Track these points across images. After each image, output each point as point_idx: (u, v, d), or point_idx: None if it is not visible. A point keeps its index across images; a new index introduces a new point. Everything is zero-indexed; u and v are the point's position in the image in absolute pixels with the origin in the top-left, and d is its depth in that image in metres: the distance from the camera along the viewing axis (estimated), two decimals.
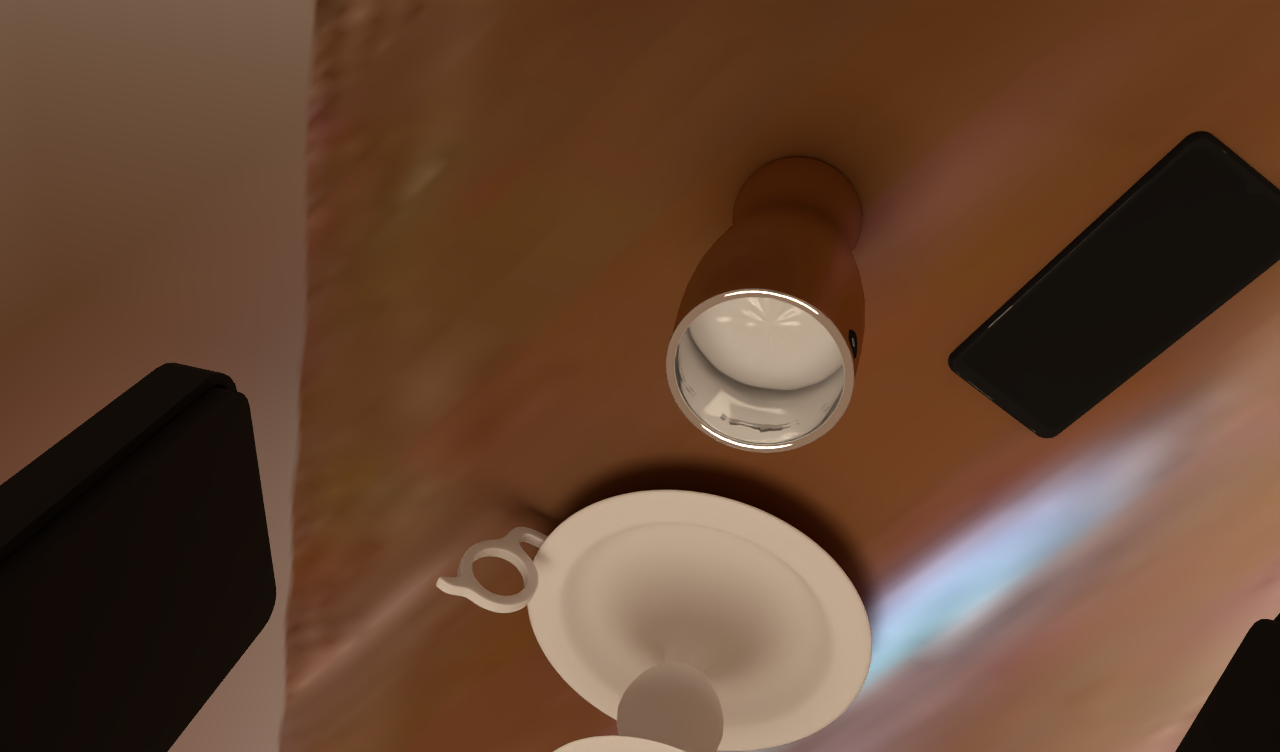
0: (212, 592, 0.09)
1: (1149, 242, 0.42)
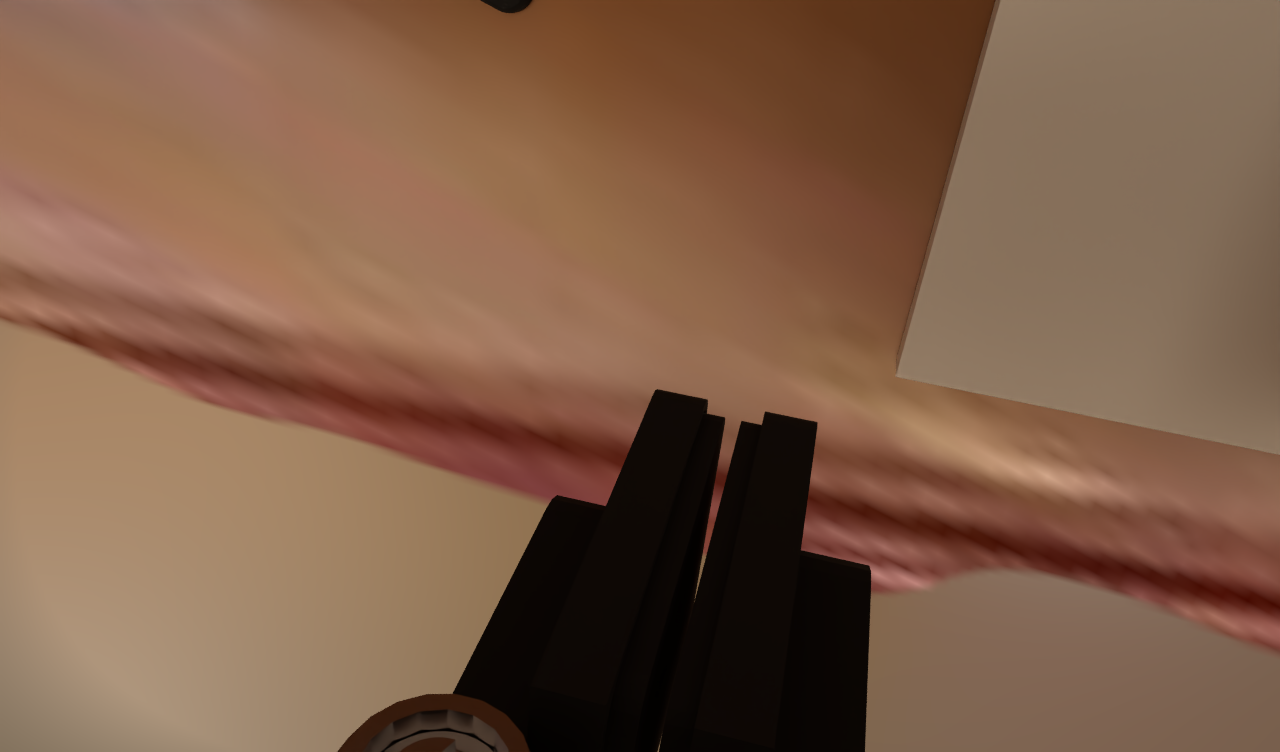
0: (686, 609, 0.09)
1: None
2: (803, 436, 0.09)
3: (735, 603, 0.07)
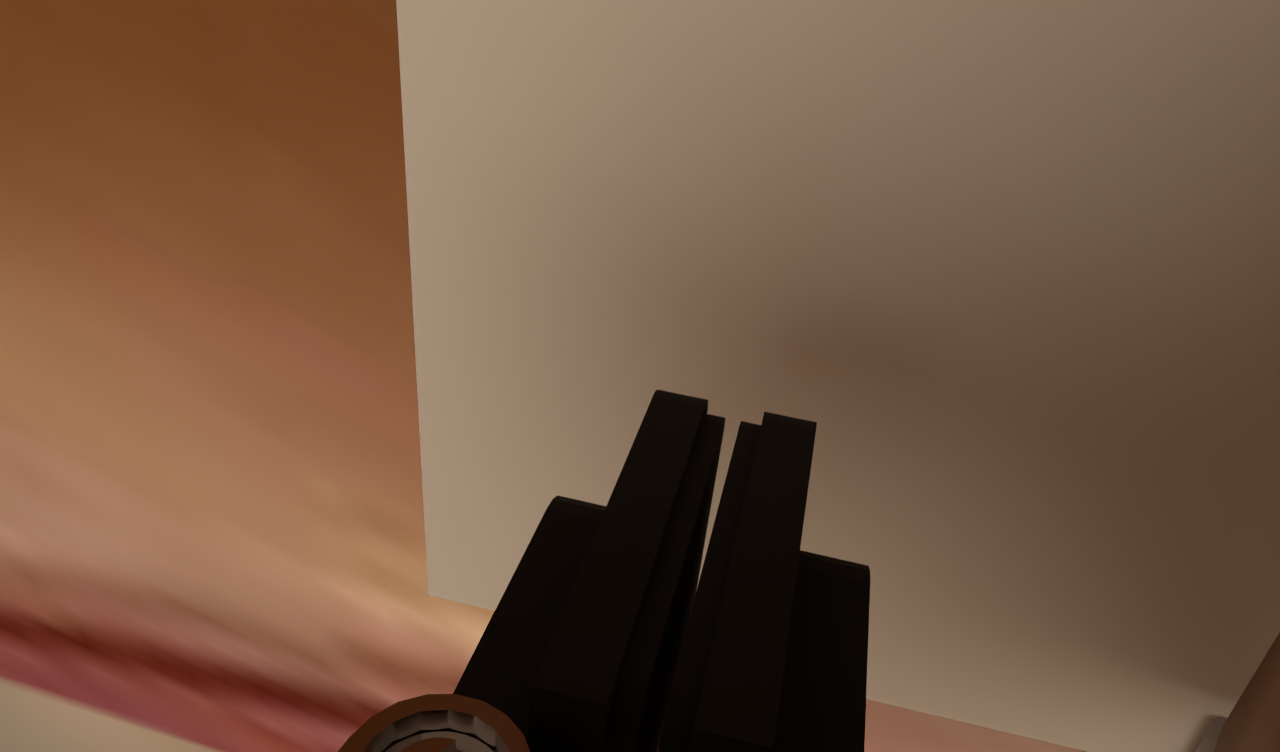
0: (687, 608, 0.09)
1: None
2: (803, 436, 0.09)
3: (735, 603, 0.07)
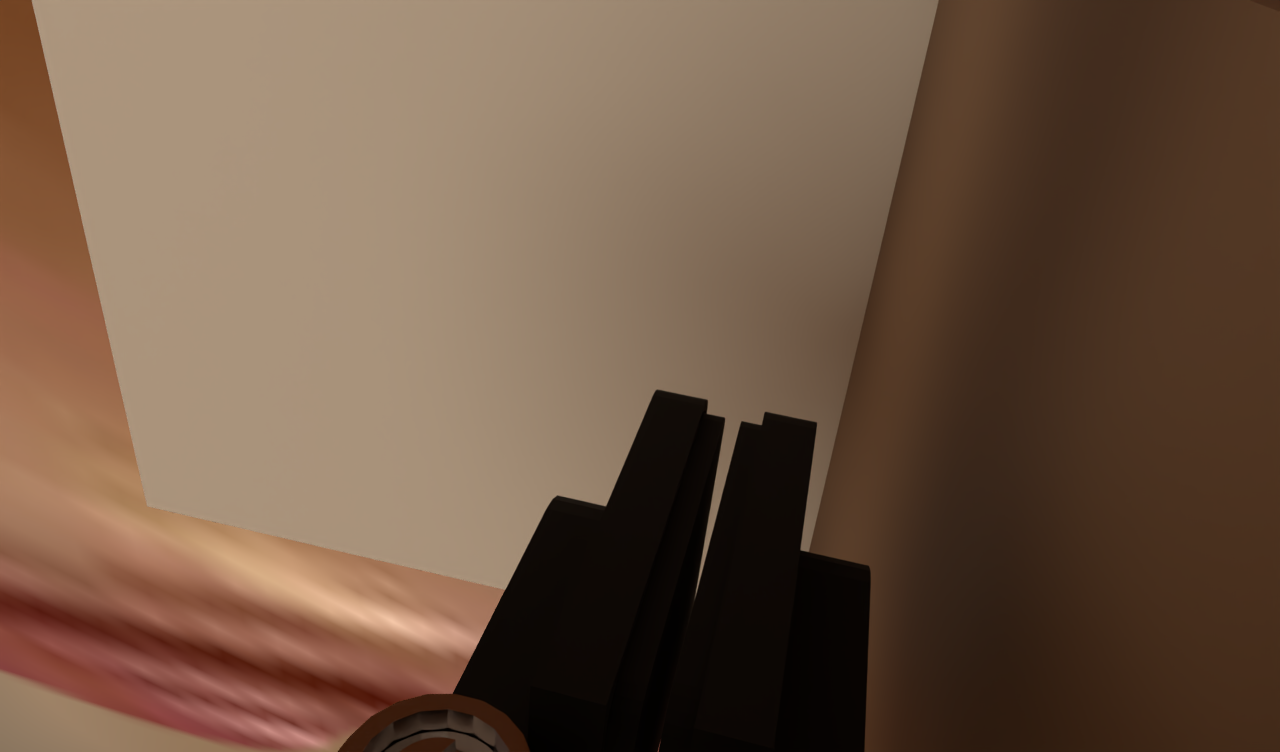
0: (687, 608, 0.09)
1: None
2: (803, 436, 0.09)
3: (735, 603, 0.07)
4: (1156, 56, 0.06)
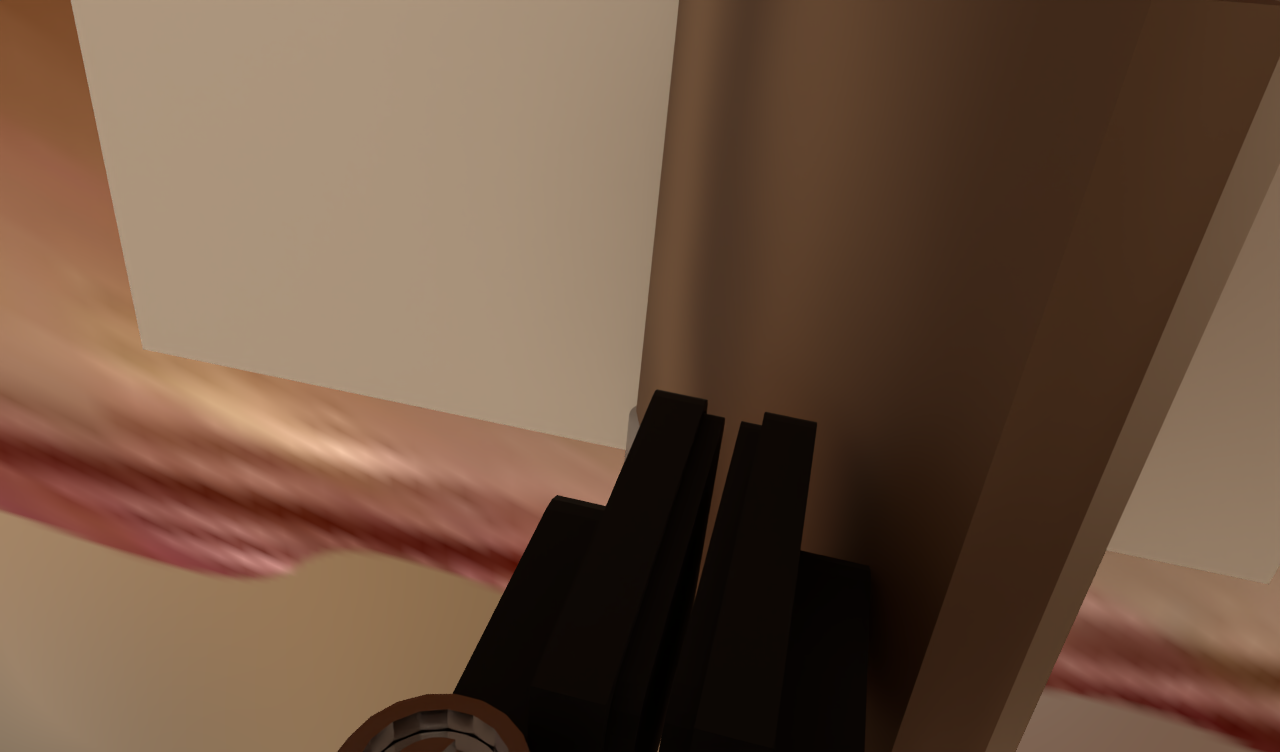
0: (686, 608, 0.09)
1: None
2: (803, 436, 0.09)
3: (735, 603, 0.07)
4: None
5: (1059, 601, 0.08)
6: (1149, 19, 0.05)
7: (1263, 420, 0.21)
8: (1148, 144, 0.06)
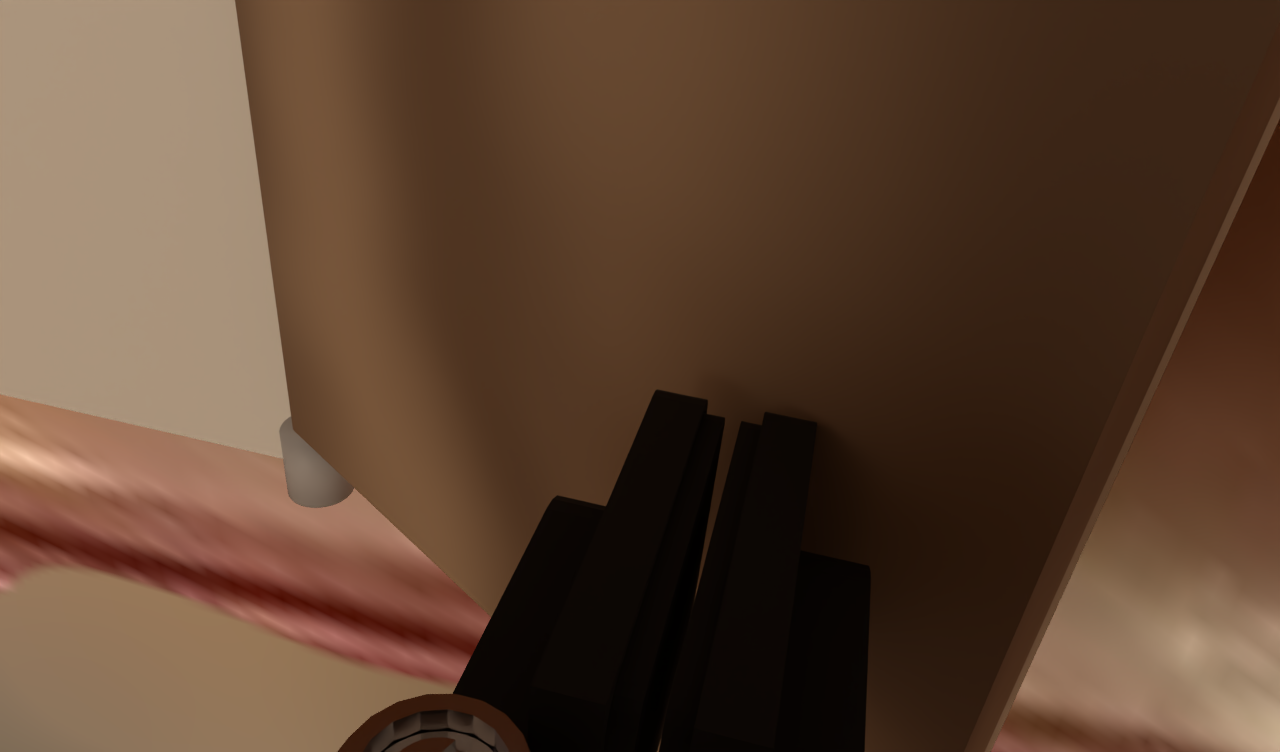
0: (687, 608, 0.09)
1: None
2: (803, 436, 0.09)
3: (735, 603, 0.07)
4: None
5: (1124, 447, 0.08)
6: None
7: None
8: None
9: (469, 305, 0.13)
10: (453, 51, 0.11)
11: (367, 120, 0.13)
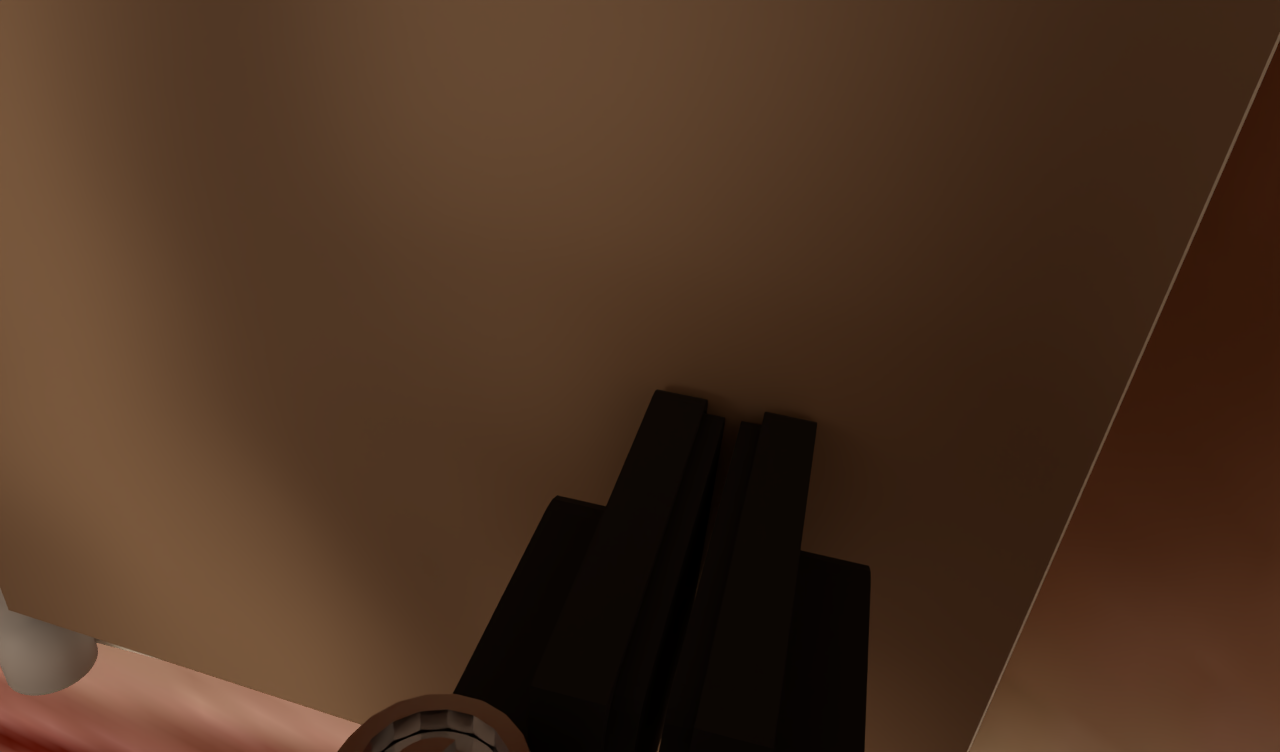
0: (687, 608, 0.09)
1: None
2: (803, 436, 0.09)
3: (735, 603, 0.07)
4: None
5: None
6: None
7: None
8: None
9: (319, 405, 0.11)
10: (264, 115, 0.09)
11: (112, 213, 0.10)
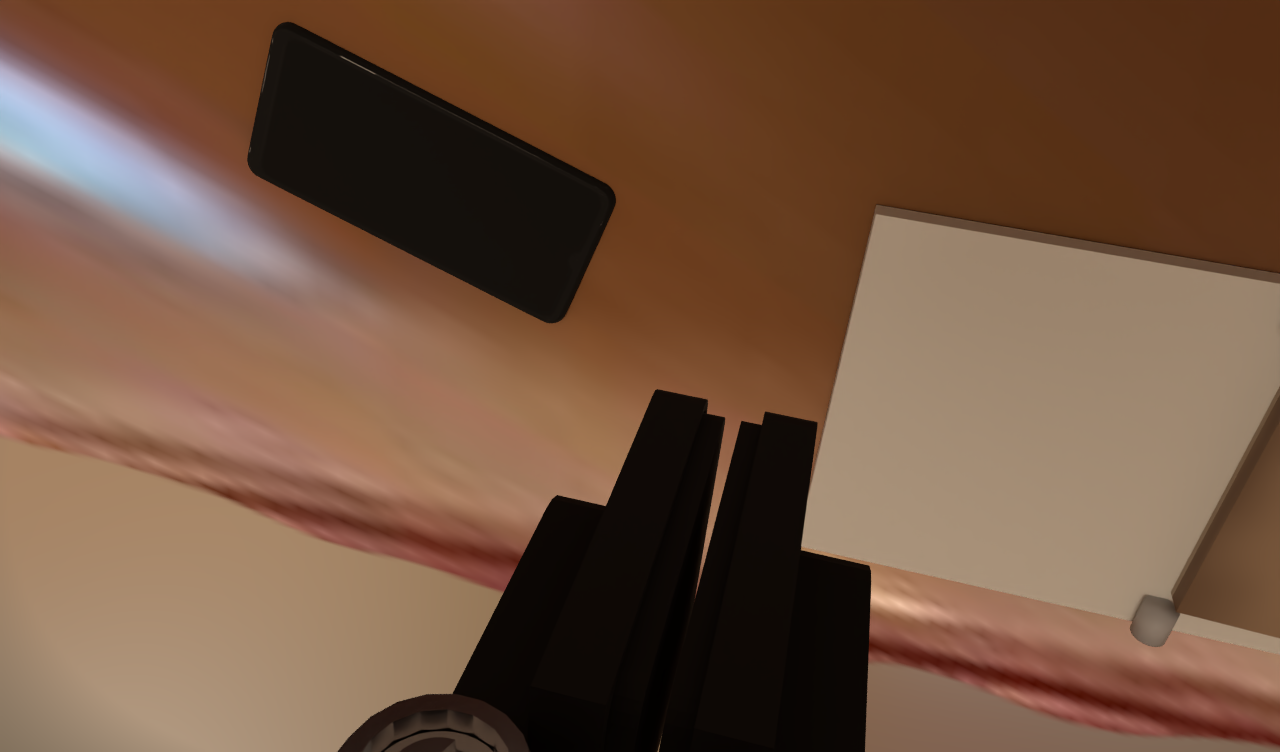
0: (687, 608, 0.09)
1: (493, 189, 0.39)
2: (803, 436, 0.09)
3: (735, 603, 0.07)
4: None
5: None
6: None
7: None
8: None
9: None
10: None
11: None
